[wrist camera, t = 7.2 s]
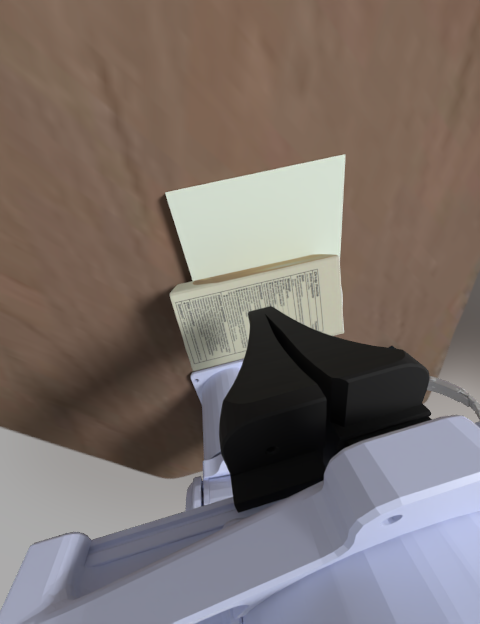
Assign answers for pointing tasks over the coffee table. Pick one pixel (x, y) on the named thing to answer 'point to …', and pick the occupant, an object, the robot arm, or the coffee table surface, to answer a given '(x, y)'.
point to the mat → (260, 217)
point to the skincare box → (256, 305)
